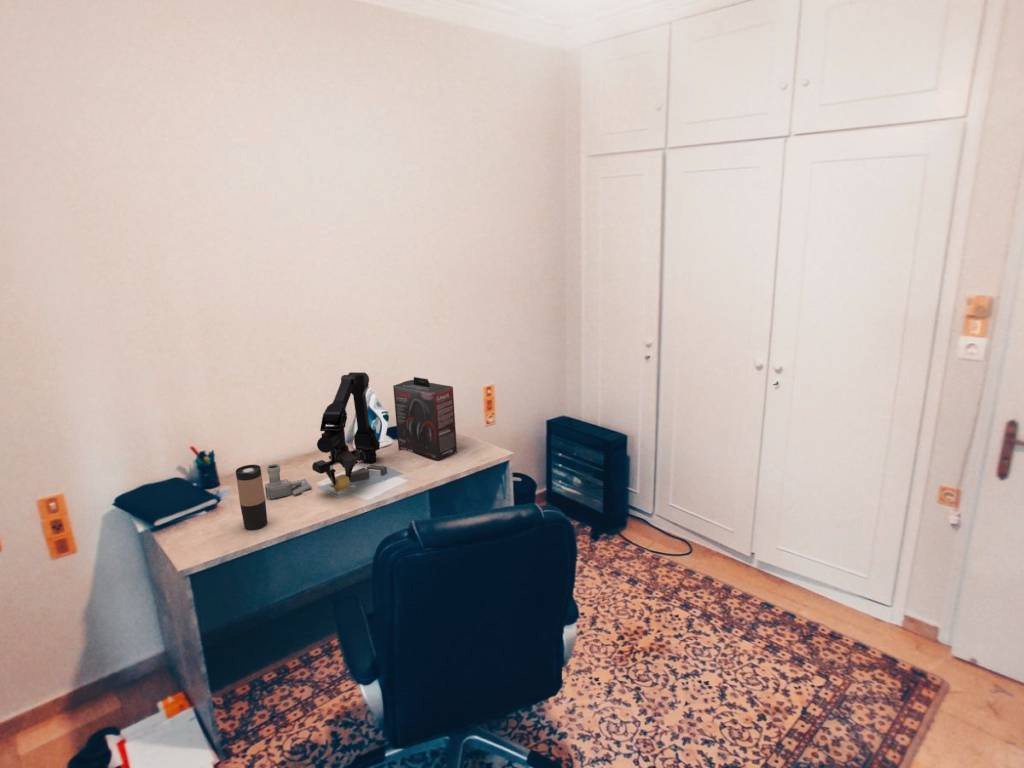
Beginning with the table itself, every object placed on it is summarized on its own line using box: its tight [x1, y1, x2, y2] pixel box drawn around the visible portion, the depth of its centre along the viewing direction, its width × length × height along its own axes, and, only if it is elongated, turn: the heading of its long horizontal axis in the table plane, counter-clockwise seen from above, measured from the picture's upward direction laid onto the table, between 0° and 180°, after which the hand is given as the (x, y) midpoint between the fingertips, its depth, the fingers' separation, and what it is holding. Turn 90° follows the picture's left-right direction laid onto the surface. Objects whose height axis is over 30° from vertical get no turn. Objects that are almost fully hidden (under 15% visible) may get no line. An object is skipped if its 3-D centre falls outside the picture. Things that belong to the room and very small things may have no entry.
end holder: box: [326, 484, 356, 496], centre depth 227 cm, size 8×7×2 cm
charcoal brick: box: [350, 468, 369, 483], centre depth 236 cm, size 3×7×3 cm, turn 114°
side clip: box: [344, 467, 371, 485], centre depth 236 cm, size 5×10×2 cm, turn 136°
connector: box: [334, 473, 350, 490], centre depth 227 cm, size 4×4×5 cm
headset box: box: [392, 376, 458, 461], centre depth 262 cm, size 25×12×33 cm, turn 53°
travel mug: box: [235, 464, 268, 531], centre depth 201 cm, size 8×8×20 cm
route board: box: [317, 464, 404, 499], centre depth 235 cm, size 14×29×4 cm, turn 136°
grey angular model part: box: [264, 463, 312, 501], centre depth 227 cm, size 9×12×15 cm
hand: (341, 482), depth 227 cm, fingers open, 5 cm apart
